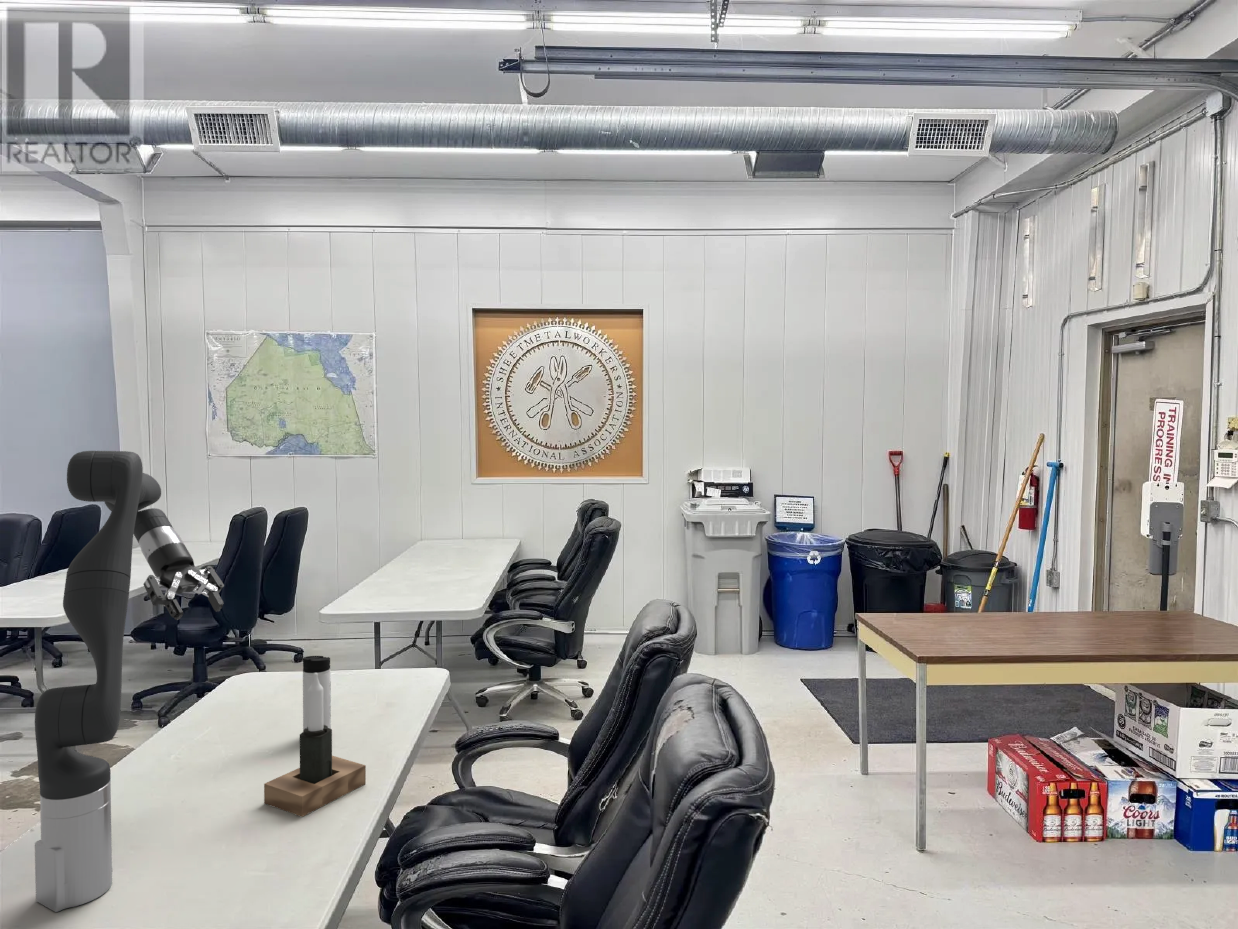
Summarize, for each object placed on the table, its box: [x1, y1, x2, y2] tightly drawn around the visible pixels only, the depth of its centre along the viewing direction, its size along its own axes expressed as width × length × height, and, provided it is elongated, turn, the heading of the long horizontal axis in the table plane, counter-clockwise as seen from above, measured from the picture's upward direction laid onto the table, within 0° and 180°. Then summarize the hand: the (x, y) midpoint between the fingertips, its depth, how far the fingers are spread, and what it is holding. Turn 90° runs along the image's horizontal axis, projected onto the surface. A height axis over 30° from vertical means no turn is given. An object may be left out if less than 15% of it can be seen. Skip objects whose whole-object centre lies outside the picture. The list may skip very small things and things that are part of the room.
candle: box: [299, 673, 333, 784], centre depth 157 cm, size 5×5×25 cm
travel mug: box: [302, 655, 332, 732], centre depth 186 cm, size 6×7×20 cm
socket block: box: [263, 755, 367, 818], centre depth 158 cm, size 16×11×4 cm
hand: (200, 613), depth 158 cm, fingers open, 8 cm apart
